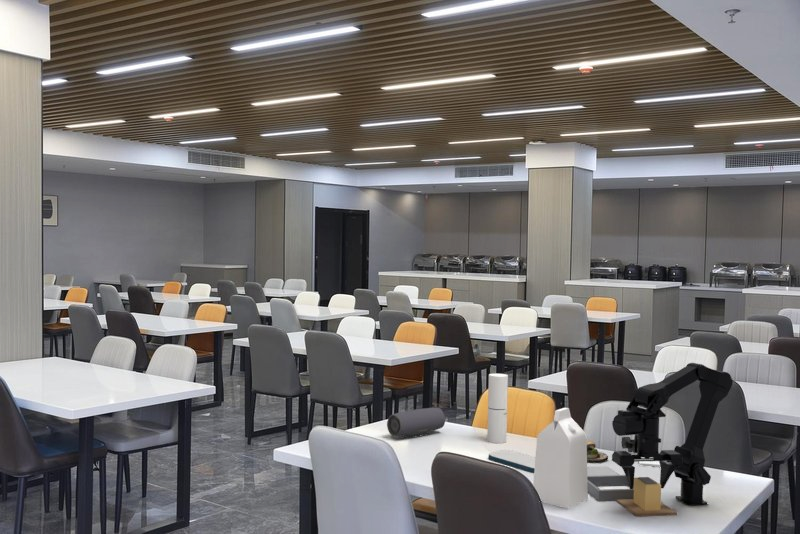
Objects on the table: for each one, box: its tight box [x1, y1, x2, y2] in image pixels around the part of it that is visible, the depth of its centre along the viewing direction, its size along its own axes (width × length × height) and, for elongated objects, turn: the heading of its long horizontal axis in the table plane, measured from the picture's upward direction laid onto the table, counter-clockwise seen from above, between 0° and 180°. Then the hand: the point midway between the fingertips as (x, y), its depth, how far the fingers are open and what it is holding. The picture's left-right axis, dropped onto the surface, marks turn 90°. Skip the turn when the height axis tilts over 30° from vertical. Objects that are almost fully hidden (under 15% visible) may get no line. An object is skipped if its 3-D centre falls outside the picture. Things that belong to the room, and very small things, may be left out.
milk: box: [532, 407, 589, 510], centre depth 213 cm, size 12×12×26 cm
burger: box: [587, 440, 609, 462], centre depth 257 cm, size 12×12×8 cm
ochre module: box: [633, 476, 662, 511], centre depth 206 cm, size 7×4×7 cm, turn 8°
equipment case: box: [587, 465, 634, 502], centre depth 227 cm, size 28×16×3 cm, turn 9°
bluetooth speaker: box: [386, 407, 446, 438], centre depth 285 cm, size 23×9×10 cm, turn 130°
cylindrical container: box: [486, 373, 509, 444], centre depth 278 cm, size 7×7×25 cm
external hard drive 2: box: [634, 453, 661, 468], centre depth 254 cm, size 2×8×12 cm
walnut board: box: [616, 499, 678, 517], centre depth 207 cm, size 12×12×1 cm
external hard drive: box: [488, 449, 536, 474], centre depth 249 cm, size 24×12×2 cm, turn 41°
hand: (646, 488), depth 206 cm, fingers open, 9 cm apart
